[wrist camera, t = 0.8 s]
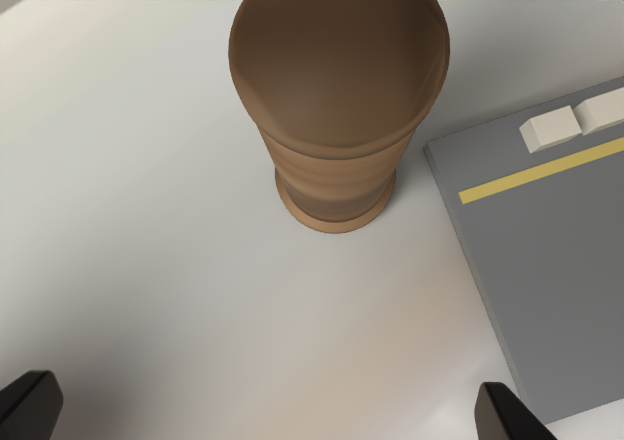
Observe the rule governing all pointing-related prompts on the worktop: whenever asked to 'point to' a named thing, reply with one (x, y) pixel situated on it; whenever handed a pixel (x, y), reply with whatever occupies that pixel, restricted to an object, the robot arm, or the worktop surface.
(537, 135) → the set of cream blocks
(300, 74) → the mill
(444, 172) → the panel
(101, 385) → the worktop surface
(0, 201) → the worktop surface
